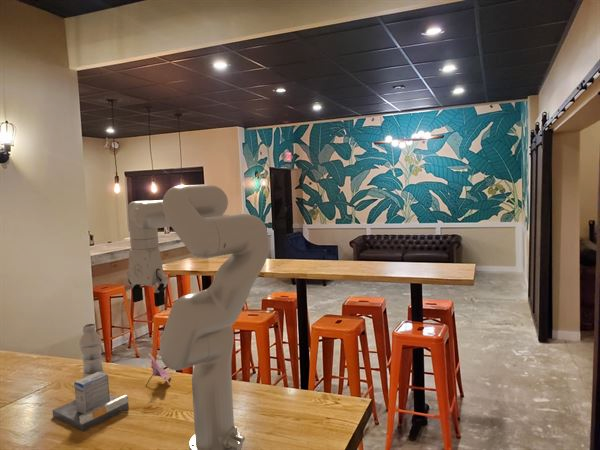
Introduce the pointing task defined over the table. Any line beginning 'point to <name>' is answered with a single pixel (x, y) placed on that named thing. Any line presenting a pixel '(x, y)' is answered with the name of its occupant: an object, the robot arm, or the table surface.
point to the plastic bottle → (91, 350)
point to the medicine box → (91, 392)
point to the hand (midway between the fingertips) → (148, 303)
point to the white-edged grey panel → (90, 413)
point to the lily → (158, 370)
